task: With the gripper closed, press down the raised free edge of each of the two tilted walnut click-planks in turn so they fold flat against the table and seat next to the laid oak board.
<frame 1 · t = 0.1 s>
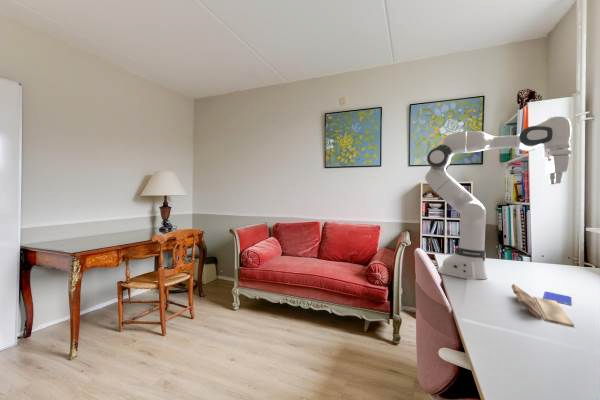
hand: (554, 183, 120), 48 cm above the table, fingers open, 8 cm apart
laid board: (550, 312, 95), on the table
hard drive: (557, 301, 107), on the table
plank 2: (522, 294, 104), point 3 cm above the table, hinge at 35.0°
plank 1: (528, 304, 94), point 3 cm above the table, hinge at 40.0°
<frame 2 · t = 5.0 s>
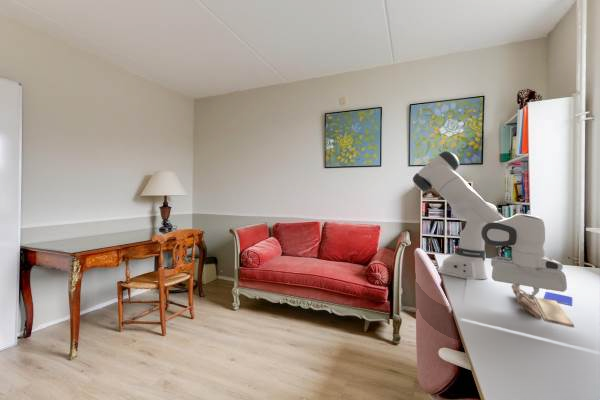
hand: (525, 297, 94), 5 cm above the table, fingers closed
plank 1: (527, 305, 94), point 3 cm above the table, hinge at 36.8°, touching gripper
everything else where it was.
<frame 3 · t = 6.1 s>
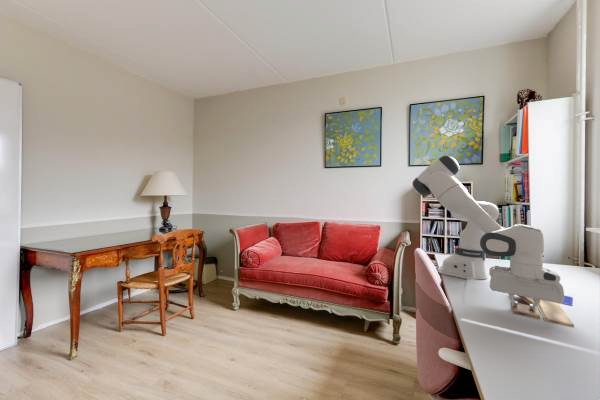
hand: (523, 308, 95), 2 cm above the table, fingers closed on plank 1, 3 cm apart
plank 1: (524, 310, 95), point 1 cm above the table, hinge at 1.8°, touching gripper
everything else where it was.
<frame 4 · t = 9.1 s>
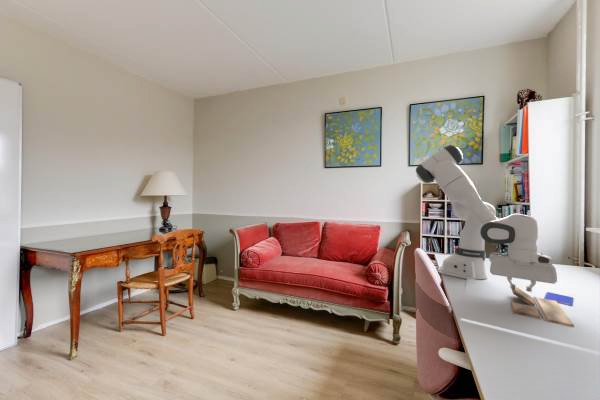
hand: (520, 289, 104), 5 cm above the table, fingers open, 3 cm apart
plank 2: (522, 295, 104), point 3 cm above the table, hinge at 31.5°, touching gripper
plank 1: (524, 310, 95), point 1 cm above the table, hinge at 1.7°
everything else where it was.
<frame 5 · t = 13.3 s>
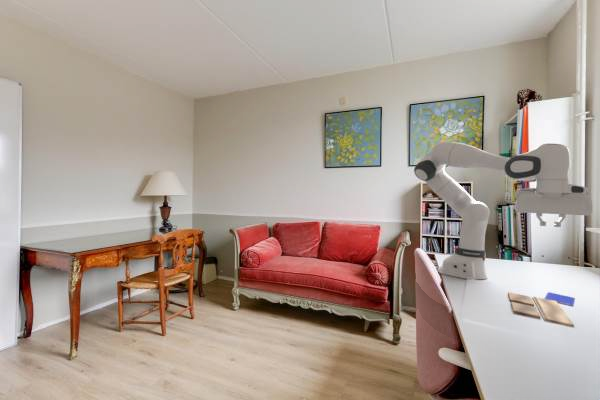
hand: (549, 226, 96), 31 cm above the table, fingers closed
plank 2: (520, 299, 105), point 1 cm above the table, hinge at 1.8°
everything else where it was.
at the end: plank 1 at +2° (first picture: +40°); plank 2 at +2° (first picture: +35°) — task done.
